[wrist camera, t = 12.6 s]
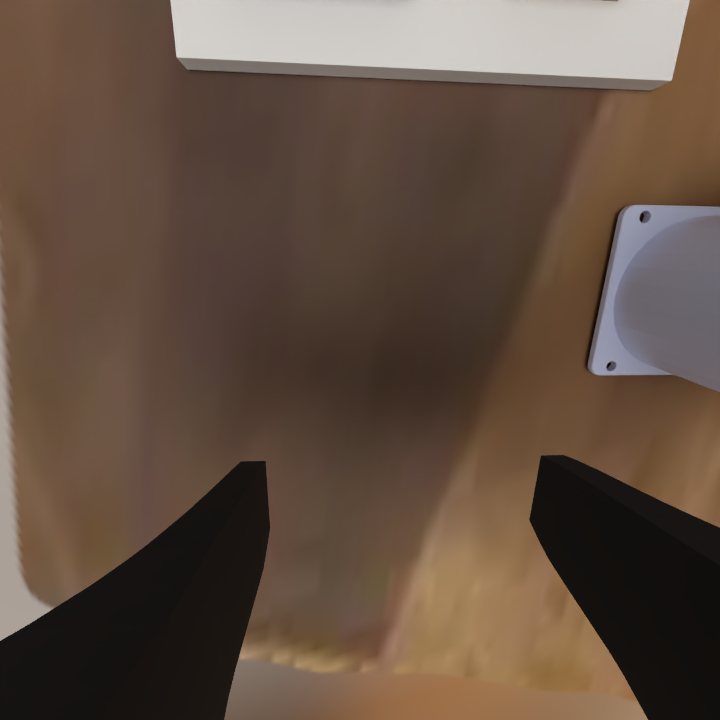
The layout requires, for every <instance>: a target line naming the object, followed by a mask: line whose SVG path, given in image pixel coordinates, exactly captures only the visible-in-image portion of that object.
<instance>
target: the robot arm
mask: <svg viewBox="0 0 720 720" xmlns="http://www.w3.org/2000/svg"><path fill="white" fill-rule="evenodd" d="M641 213H643V214H644V218H643V221H642V222H640V220H639V217H640V214H641ZM609 362H611V365H610V366H609V367H608V368H606V366H607V364H608V363H609ZM588 369H589V371H590V372H592V373H593V374H595V375H676V376H679V377H681V378H684V379H686V380H689V381H692V382H694V383H697V384H699V385H702V386H705V387H707V388H710V389H712V390H715V391H718V392H720V207H709V206H668V205H630V206H626V207H625V208H623V209H622V210H621V212H620V213H619V216H618V220H617V225H616V230H615V234H614V239H613V244H612V249H611V254H610V259H609V264H608V268H607V273H606V278H605V283H604V288H603V293H602V298H601V302H600V307H599V312H598V317H597V322H596V327H595V332H594V336H593V341H592V346H591V351H590V356H589V361H588ZM530 522H531V524H532V527H533V529H534V531H535V533H536V535H537V537H538V539H539V541H540V543H541V545H542V547H543V549H544V551H545V553H546V555H547V557H548V559H549V560H550V562H551V563H552V565H553V567H554V568H555V570H556V571H557V573H558V574H559V576H560V577H561V579H562V580H563V582H564V584H565V585H566V587H567V588H568V590H569V591H570V593H571V594H572V596H573V597H574V599H575V600H576V602H577V603H578V605H579V606H580V608H581V609H582V611H583V612H584V614H585V615H586V617H587V618H588V620H589V621H590V623H591V624H592V626H593V628H594V629H595V631H596V632H597V634H598V635H599V637H600V638H601V640H602V641H603V643H604V644H605V646H606V647H607V649H608V650H609V652H610V653H611V655H612V657H613V658H614V660H615V662H616V663H617V665H618V666H619V668H620V670H621V671H622V673H623V675H624V676H625V678H626V680H627V682H628V684H629V686H630V687H631V689H632V691H633V693H634V695H635V696H636V698H637V700H638V702H639V704H640V706H641V707H642V709H643V711H644V713H645V715H646V716H647V718H648V720H720V528H719V527H717V526H714V525H712V524H710V523H708V522H705V521H703V520H701V519H699V518H697V517H694V516H692V515H690V514H688V513H685V512H683V511H681V510H679V509H677V508H675V507H673V506H670V505H668V504H666V503H664V502H662V501H660V500H658V499H656V498H654V497H652V496H650V495H648V494H645V493H643V492H641V491H639V490H637V489H635V488H633V487H631V486H629V485H627V484H625V483H623V482H621V481H619V480H617V479H615V478H613V477H611V476H609V475H607V474H605V473H603V472H601V471H599V470H597V469H594V468H592V467H590V466H588V465H586V464H584V463H581V462H579V461H577V460H575V459H572V458H570V457H567V456H564V455H548V456H541V459H540V464H539V470H538V476H537V481H536V487H535V492H534V498H533V503H532V509H531V514H530ZM269 531H270V521H269V507H268V492H267V477H266V462H265V461H247V462H240V463H239V464H238V465H237V466H236V467H235V468H234V469H232V470H231V471H230V472H229V473H228V474H227V475H226V476H225V477H224V478H223V479H222V480H221V481H220V482H219V483H218V484H217V485H216V486H215V487H213V488H212V489H211V490H210V491H209V492H208V493H207V494H206V495H205V496H204V497H203V498H202V499H201V500H199V501H198V502H197V503H196V504H195V505H194V506H193V507H192V508H191V509H190V510H188V511H187V512H186V513H185V514H184V515H183V516H181V517H180V518H179V519H178V520H177V521H175V522H174V523H173V524H172V525H171V526H169V527H168V528H167V529H166V530H165V531H163V532H162V533H161V534H160V535H159V536H157V537H156V538H155V539H154V540H153V541H151V542H150V543H149V544H148V545H146V546H145V547H144V548H142V549H141V550H140V551H138V552H137V553H136V554H134V555H133V556H132V557H130V558H129V559H128V560H126V561H125V562H124V563H122V564H121V565H119V566H118V567H116V568H115V569H114V570H112V571H111V572H109V573H108V574H107V575H105V576H104V577H102V578H101V579H99V580H98V581H96V582H95V583H94V584H92V585H91V586H89V587H88V588H86V589H84V590H83V591H81V592H80V593H78V594H76V595H75V596H73V597H72V598H70V599H68V600H67V601H65V602H64V603H62V604H61V605H59V606H57V607H56V608H54V609H53V610H51V611H49V612H48V613H46V614H45V615H43V616H41V617H40V618H38V619H37V620H35V621H34V622H32V623H30V624H29V625H27V626H25V627H24V628H22V629H20V630H19V631H17V632H15V633H13V634H12V635H10V636H8V637H6V638H5V639H3V640H1V641H0V720H224V717H225V712H226V706H227V701H228V697H229V692H230V689H231V684H232V680H233V676H234V672H235V668H236V665H237V661H238V658H239V654H240V651H241V647H242V643H243V640H244V636H245V633H246V629H247V626H248V622H249V619H250V615H251V612H252V608H253V604H254V601H255V597H256V594H257V590H258V586H259V583H260V579H261V575H262V572H263V568H264V562H265V556H266V550H267V544H268V537H269Z"/></svg>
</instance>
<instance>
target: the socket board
mask: <svg viewBox="0 0 720 720" xmlns="http://www.w3.org/2000/svg"><path fill="white" fill-rule="evenodd" d="M689 1H690V0H171V9H172V18H173V28H174V37H175V46H176V55H177V58H178V60H179V61H180V62H181V63H182V64H183V65H184V67H185V68H186V69H187V70H205V71H227V72H250V73H272V74H294V75H316V76H338V77H360V78H382V79H404V80H426V81H448V82H470V83H492V84H515V85H537V86H559V87H581V88H603V89H625V90H647V91H652V90H654V89H656V88H658V87H660V86H662V85H664V84H666V83H668V82H670V81H672V77H673V72H674V68H675V63H676V59H677V55H678V50H679V46H680V41H681V37H682V32H683V28H684V23H685V19H686V14H687V10H688V5H689Z"/></svg>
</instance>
